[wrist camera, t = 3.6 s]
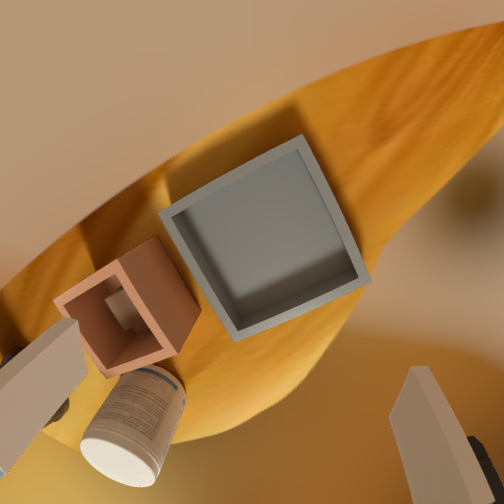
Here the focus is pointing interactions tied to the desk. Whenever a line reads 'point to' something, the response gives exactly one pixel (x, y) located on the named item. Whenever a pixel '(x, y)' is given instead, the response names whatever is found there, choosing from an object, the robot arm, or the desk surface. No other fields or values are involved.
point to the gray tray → (267, 240)
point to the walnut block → (124, 309)
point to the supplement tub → (135, 426)
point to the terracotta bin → (146, 302)
